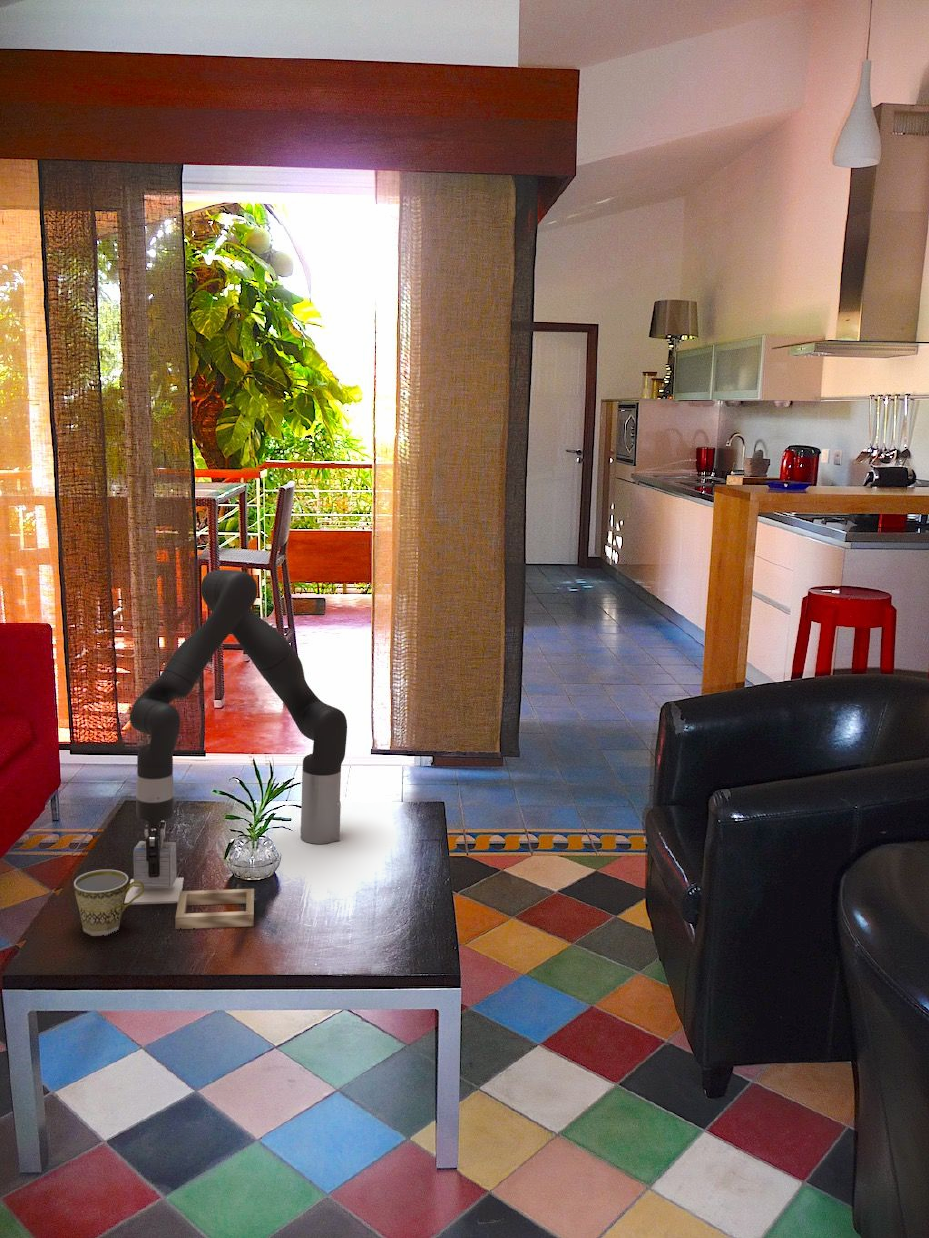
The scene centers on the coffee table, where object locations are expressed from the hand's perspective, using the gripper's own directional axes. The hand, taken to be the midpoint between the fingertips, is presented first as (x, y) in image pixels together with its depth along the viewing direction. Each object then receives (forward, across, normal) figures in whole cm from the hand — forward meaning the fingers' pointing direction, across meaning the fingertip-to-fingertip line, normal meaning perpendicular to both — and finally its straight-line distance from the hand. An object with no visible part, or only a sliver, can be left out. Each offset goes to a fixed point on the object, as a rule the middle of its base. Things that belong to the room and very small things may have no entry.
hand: (155, 870), depth 213 cm
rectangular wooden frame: (+5, -11, -13) cm, 18 cm away
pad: (+5, 0, 0) cm, 5 cm away
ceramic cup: (+5, -15, +7) cm, 17 cm away
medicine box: (+3, 0, 0) cm, 3 cm away
